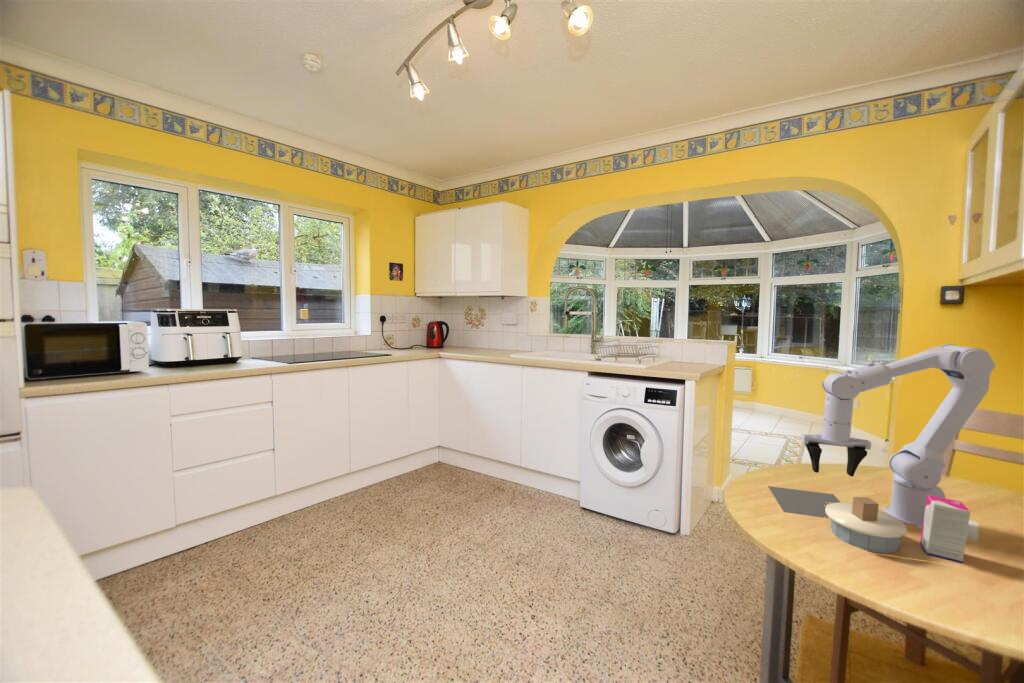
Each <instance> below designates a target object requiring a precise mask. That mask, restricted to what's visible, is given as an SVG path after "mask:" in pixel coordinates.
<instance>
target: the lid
mask: <svg viewBox="0 0 1024 683" xmlns="http://www.w3.org/2000/svg"><path fill="white" fill-rule="evenodd" d="M825 513H826V515H827V516H828V517H829V518H828V519H829V520H830V521H831V520H833V521H834V522H836V523H837V524H839V525H841V526H843V527H846V528H848V529H851V530H854V531H856V532H860V533H863V534H867V535H872V536H877V537H884V538H898V537H901V538H903V537H904V536H905V535H906V534H907V530H908V529H907V526H906V523H903V522H902V521H900V520H899V519H897V518H896V517H894V516H892V515H890V514H888V513H887V512H886V511H884V510H883V511H882V510H880V509H879V503H878V502H876V501H874V500H873V499H872V498H869V497H868V496H866V497H865V496H853V497H852V502H841V503H831V504H828V505H827V506H826V507H825Z"/></svg>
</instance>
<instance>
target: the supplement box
mask: <svg viewBox="0 0 1024 683" xmlns="http://www.w3.org/2000/svg"><path fill="white" fill-rule="evenodd" d="M970 516H971V511H970V510H969V509H968V508H967V506H966V505H965V504H964V503H963V502H962V501H960V500H956V499H950V498H946V497H945V498H941V497H936V496H931V495H927V499H926V505H925V513H924V520H923V526H921V534H920V541H919V543H920V546H921V547H922V550H923V551H924V553H925V554H926V555H927V556H931V557H932V556H933V557H935V558H940V559H944V560H948V561H952V562H957V563H959V564H963V563H964V557H965V549H966V544H967V536H968V530H969V523H970Z"/></svg>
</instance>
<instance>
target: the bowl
mask: <svg viewBox="0 0 1024 683" xmlns="http://www.w3.org/2000/svg"><path fill="white" fill-rule="evenodd" d="M830 529H831V532H832V533H833V535H834V536H835V537H836V538H838V539H839V540H840V541H842V542H844V543H846V544H848V545H850V546H852V547H856V548H859V549H862V550H866V551H867V552H869V553H870V552H872V553H874V554H877V553H878V554H881V555H883V554H893V553H896V552H898V551H899V549H900V545H901V539H902V537H898V538H884V537H877V536H872V535H867V534H863V533H860V532H856V531H854V530H851V529H848V528H846V527H843V526H841V525H839V524H837V523H836V522H834V521H833V520H831V519H830Z"/></svg>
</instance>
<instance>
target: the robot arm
mask: <svg viewBox="0 0 1024 683" xmlns="http://www.w3.org/2000/svg"><path fill="white" fill-rule="evenodd" d="M864 364H865V365H864V366H860V367H856V368H854V369H844V371H843V373H840V372H834V373H831V374H829V375H827V377H825V379H824V381H823V382H821V386H822V388H823V390H824V392H825V402H824V410H823V419H822V420H823V421H822V422H823V423H822V432H821V433H822V434H801V443H803V444H804V446H805V447H806V450H807V452H808V454H809V458H810V462H811V468H812V471H813V472H814V473H815V474H816V473H819V471H820V462H821V461H820V460H821V455H822V452H823V448H821V446H820V445H822V446H823V445H824V446H836V447H845V448H846V450H847V463H846V474H847V475H848V476H849V477H854V475H855V473H856V471H857V469H858V467H859V465H860V464H861V462H862V461H863V460H864V458H866V457H867V456H868V451H867V450H870V451H871V449H872V448H871V447H872V442H871V441H870V440H868V439H861V438H854V437H851V434H852V433H851V431H852V420H853V410H854V400H855V398H856V397H857V396H859V394H860V393H863V392H867V391H870V390H873V389H877V388H880V387H883V386H888V385H889V384H890V383H891V381H892V380H893V378H896V377H900V376H904V375H907V374H911V373H916V372H919V371H923V370H928V369H939V370H940V371H941V372H942V373H943V374H944V375H945V376H947V378H948V380H949V383H950V384H951V386H952V388H951V389H950V391H949V392H948V394H947V395H946V397H944V399H943V401H942V402H941V403H940V405H939V407H938V408H937V409H936V411H935V412H934V413H933V414H932V417H930V419H929V421H928V422H927V423H926V424H925V426H924V428H923V429H922V431H921V432H920V433H919V434H918V436H917V437H916V439H915V440H914V441H912V442H909V443H907V444H904V445H903V446H902V448H901V449H900V450H898V451H897V452H895V453H893V454H892V455H891V456H890V457H889V459H888V467H889V468H890V470H891V471H892V473H893V476H892V485H891V495H890V505H889V506H882V507H881V509H882V510H883V512H885V513H887V514H890V515H892V516H894V517H896V518H897V519H899V520H900V521H902V522H903V523H904V524H905V525H906V524H907V525H914V526H915V525H916V526H921V525H923V520H924V513H925V505H926V499H927V495H931V496H936V497H941V498H946V495H945V492H944V491H943V489H942V488H941V487H939V486H937V485H939V484H940V482H941V479H942V472H943V470H944V469H945V468H946V464H945V460H944V457H943V455H944V454H945V452H946V451H947V449H948V447H949V446H951V443H952V442H953V441H954V439H955V438H956V437H957V435H958V434H959V432H960V431H961V430H962V428H963V427H964V425H966V423H967V421H968V420H969V418H970V417H972V415H973V413H974V412H975V410H976V409H977V408H978V406H979V405H980V403H981V402H982V401H983V400H984V398H985V396H986V395H987V393H988V391H989V389H990V380H991V378H990V377H991V374H992V372H993V370H994V369H995V367H996V364H995V362H994V360H993V357H991V354H990V353H989V352H988V351H987V350H985V349H983V348H979V347H970V346H962V345H956V344H953V343H946V344H942V345H940V346H932V347H930V348H928V349H926V350H923V351H921V352H917V353H916V354H911V355H909V356H907V357H903V358H901V359H898V360H895V361H892V362H890V363H886V364H884V363H880V362H873V361H867V362H865V363H864Z"/></svg>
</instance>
